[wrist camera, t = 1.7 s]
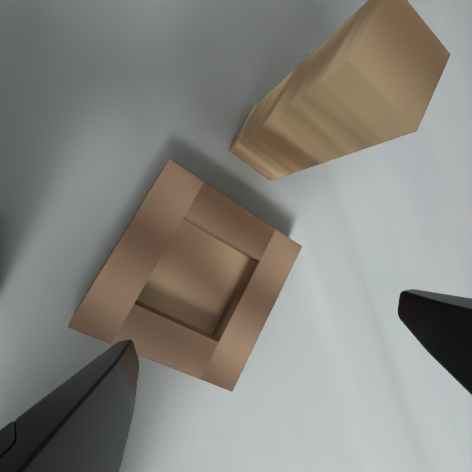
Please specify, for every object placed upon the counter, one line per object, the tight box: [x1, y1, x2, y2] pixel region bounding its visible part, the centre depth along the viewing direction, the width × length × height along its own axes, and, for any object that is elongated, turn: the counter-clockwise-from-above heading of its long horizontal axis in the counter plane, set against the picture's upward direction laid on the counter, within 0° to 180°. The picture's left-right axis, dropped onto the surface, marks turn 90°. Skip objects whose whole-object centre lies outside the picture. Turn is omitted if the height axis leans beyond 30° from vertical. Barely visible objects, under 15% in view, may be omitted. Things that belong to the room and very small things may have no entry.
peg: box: [229, 0, 450, 180], centre depth 17 cm, size 4×4×12 cm
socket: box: [68, 159, 302, 391], centre depth 20 cm, size 11×11×2 cm
